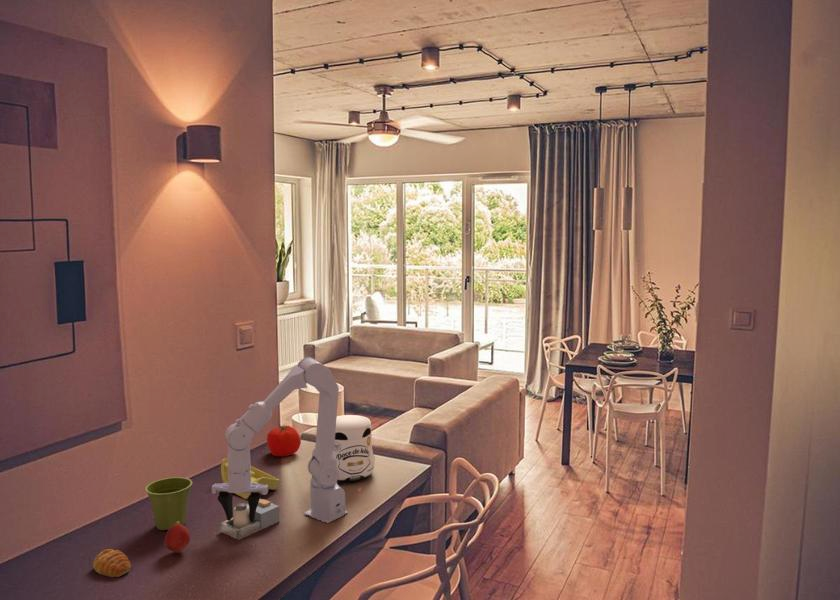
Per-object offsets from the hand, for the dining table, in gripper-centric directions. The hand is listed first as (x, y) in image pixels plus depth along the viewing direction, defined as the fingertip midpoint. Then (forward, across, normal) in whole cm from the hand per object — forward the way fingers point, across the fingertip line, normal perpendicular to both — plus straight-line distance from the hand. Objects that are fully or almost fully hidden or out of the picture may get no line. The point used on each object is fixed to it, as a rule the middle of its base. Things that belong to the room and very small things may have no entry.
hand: (241, 519), depth 167 cm
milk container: (+3, -21, -39) cm, 45 cm away
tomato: (+3, +5, -57) cm, 57 cm away
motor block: (+3, -4, -5) cm, 7 cm away
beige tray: (+3, 0, 0) cm, 3 cm away
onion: (+3, +12, +12) cm, 17 cm away
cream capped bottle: (+3, 0, 0) cm, 3 cm away
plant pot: (+3, +20, -2) cm, 21 cm away
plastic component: (+4, +8, -29) cm, 30 cm away
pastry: (+4, +24, +20) cm, 31 cm away
